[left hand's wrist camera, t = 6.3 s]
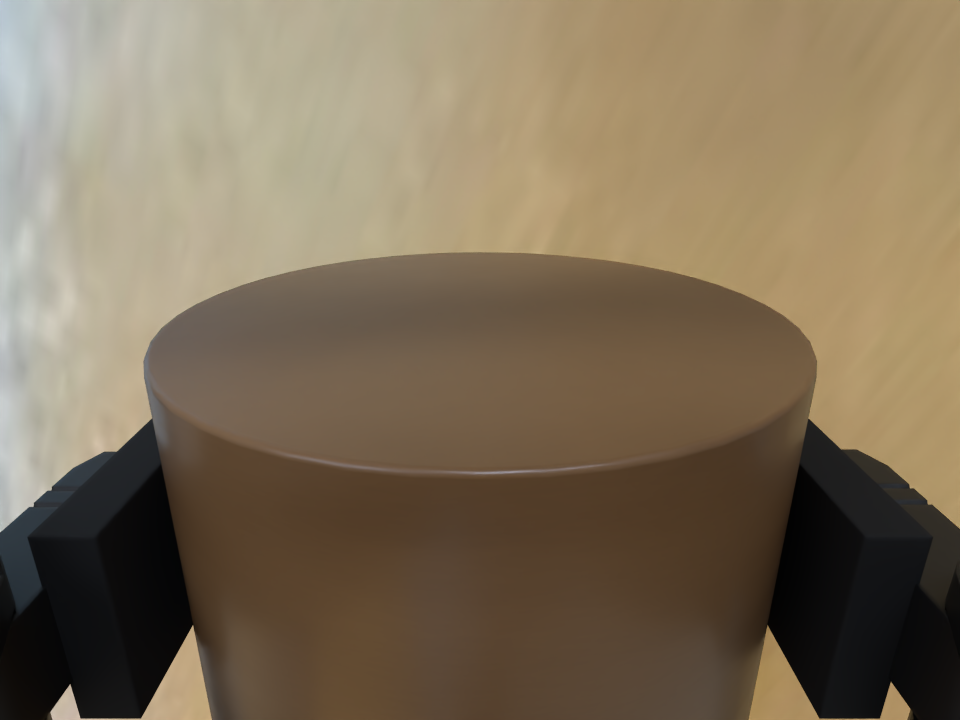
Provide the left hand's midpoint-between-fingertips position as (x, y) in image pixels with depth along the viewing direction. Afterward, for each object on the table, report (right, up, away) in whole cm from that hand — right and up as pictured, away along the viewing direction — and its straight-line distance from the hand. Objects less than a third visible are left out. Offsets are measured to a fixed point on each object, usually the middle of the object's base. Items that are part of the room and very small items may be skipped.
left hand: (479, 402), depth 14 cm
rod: (0, -9, +4) cm, 10 cm away
